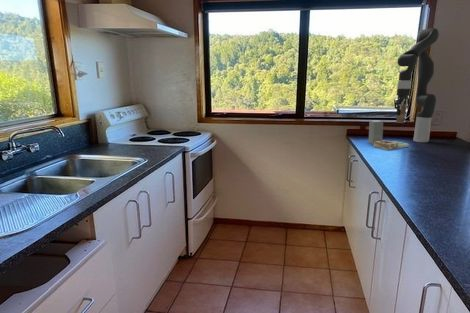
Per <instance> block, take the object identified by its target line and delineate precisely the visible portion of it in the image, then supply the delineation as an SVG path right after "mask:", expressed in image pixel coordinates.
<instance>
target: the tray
mask: <svg viewBox="0 0 470 313" xmlns="http://www.w3.org/2000/svg"><path fill="white" fill-rule="evenodd" d="M393 142H396V143H398V148H397V149H404V148H409V146H410V144H409V143H405V142H401V141H396V140H395V141H393Z"/></svg>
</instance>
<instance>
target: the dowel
mask: <svg viewBox="0 0 470 313" xmlns="http://www.w3.org/2000/svg"><path fill="white" fill-rule="evenodd" d="M399 107H400V106H399ZM405 109H406V104H403V106H402V107H401V109H400V110H401V113H400V116H398V115H396V118H395V119H396V120H395V123H397V124H404V122H405V117H406V116H405V115H406V113H405ZM406 110H407V109H406Z"/></svg>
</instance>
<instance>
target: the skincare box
mask: <svg viewBox="0 0 470 313" xmlns="http://www.w3.org/2000/svg"><path fill="white" fill-rule="evenodd" d="M368 125H369V126H368V143H369V144H372V145H374V142H375V141H383V137H384V134H383V133H384V121H383V120H378V119H377V120H369V124H368Z"/></svg>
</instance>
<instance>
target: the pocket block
mask: <svg viewBox="0 0 470 313" xmlns="http://www.w3.org/2000/svg"><path fill="white" fill-rule="evenodd" d="M396 142H397V141H396ZM396 142H394V141H390V140H385V139H384V140H383V139H382V141H375V142H374V144H373V148H377V149H380V150H381V149H382V150H384V151H391V150H396V149H397V150H398V149H399V148H398V143H396Z"/></svg>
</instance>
